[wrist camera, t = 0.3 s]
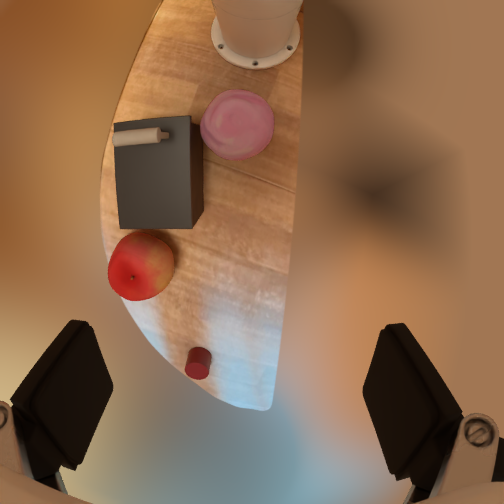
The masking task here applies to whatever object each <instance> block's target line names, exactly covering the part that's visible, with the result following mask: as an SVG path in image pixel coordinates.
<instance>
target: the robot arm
mask: <svg viewBox="0 0 504 504" xmlns="http://www.w3.org/2000/svg"><path fill="white" fill-rule="evenodd" d="M302 2H303V0H212V4H213V7H214V10H215V14H216V17H215V19H214V21H213V23H212V28H211V38H212V42H213V45H214V47H215V49H216V50H217V52H218V53H219V54H220V56H221V57H223V58H224V59H225V60H226V61H228V62H229V63H231V64H232V65H235V66H238V67H240V68H245V69H251V70H261V69H268V68H272V67H275V66H277V65H279V64H281V63H283V62H284V61H286V60H287V59H288V58H289V57H290V56H291V55H292V54H293V53H294V51H295V50H296V48H297V46H298V43H299V39H300V27H299V23H298V21H297V19H296V18H297V15H298V13H299V10H300V8H301V5H302ZM220 47H223V49H220ZM288 48H290V49H291V50H290V51H289V50H288ZM254 63H256V64H257V65H256V66H254V65H253V64H254ZM112 392H113V382H112V380H111V377H110V375H109V372H108V370H107V367H106V364H105V362H104V359H103V356H102V354H101V351H100V348H99V345H98V342H97V339H96V336H95V333H94V330H93V328H92V327H91V326H89V324H88V322H86V321H80V320H71V321H69V322H68V323H67V325H66V326H65V327H64V328H63V330H62V331H61V332H60V333H59V334H58V336H57V337H56V338H55V339H54V341H53V342H52V343H51V345H50V346H49V347H48V348H47V349H46V351H45V352H44V353H43V355H42V356H41V357H40V359H39V360H38V361H37V363H36V364H35V365H34V367H33V368H32V369H31V370H30V372H29V374H28V375H27V376H26V377H25V379H24V380H23V381H22V383H21V384H20V386H19V387H18V388H17V390H16V391H15V393H14V394H13V396H12V397H11V399H10V400H11V402H12V403H13V406H12V407H10V406H9V405H8V404H7V403H6V402H4V401H0V504H92V503H89V502H86V501H83V500H80V499H78V498H75V497H72V496H70V495H68V493H67V490H66V488H65V485H64V483H63V480H62V477H61V475H60V472H59V468H60V466H61V465H62V466H63V467H66V468H68V469H71V470H74V471H75V470H76V468H77V465H79V464H81V463H82V462H83V459H84V457H85V454H86V452H87V449H88V447H89V445H90V442H91V440H92V437H93V435H94V433H95V430H96V428H97V425H98V423H99V421H100V418H101V416H102V414H103V412H104V410H105V407H106V405H107V403H108V401H109V398H110V396H111V394H112ZM363 397H364V400H365V403H366V406H367V408H368V411H369V414H370V417H371V419H372V422H373V425H374V428H375V431H376V434H377V437H378V439H379V442H380V445H381V448H382V451H383V454H384V457H385V460H386V464H387V466H388V470H389V472H390V473H391V474H395V477H396V480H397V481H399V480H402V479H405V478H409V477H410V479H411V482H412V486H411V488H410V491H409V493H408V495H407V497H406V499H405V501H404V503H403V504H504V439H503V438H500V437H499V430H498V427H497V425H496V423H495V422H494V421H493V419H491V418H490V417H489V416H487V415H484V414H481V413H473V414H470V415H468V416H466V417H465V418H464V417H463V415H462V410H461V408H460V407H459V405H458V403H457V402H456V400H455V399H454V397H453V396H452V394H451V392H450V390H449V389H448V387H447V386H446V384H445V382H444V381H443V379H442V378H441V376H440V375H439V373H438V372H437V370H436V369H435V367H434V365H433V364H432V362H431V361H430V359H429V358H428V356H427V355H426V353H425V352H424V351H423V349H422V348H421V346H420V345H419V343H418V342H417V341H416V339H415V338H414V336H413V335H412V333H411V332H410V330H409V329H408V328H407V326H406V325H405V324H404V323H398V324H389V325H386V327H385V329H383V330H381V331H380V334H379V338H378V341H377V345H376V348H375V351H374V355H373V358H372V362H371V364H370V368H369V371H368V374H367V377H366V380H365V383H364V385H363Z"/></svg>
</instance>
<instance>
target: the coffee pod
mask: <svg viewBox="0 0 504 504" xmlns="http://www.w3.org/2000/svg"><path fill="white" fill-rule="evenodd" d="M210 363H211V354H210V352H209V351H208V350H206V349H204V348H200V347H196V348H193V349H191V350H190V351H189V354H188V358H187V362H186V366H185V372H186V374H187V375H188V376H189V377H191V378H193V379H197V380H201V379H204V378H206V377H207V376H208V375H209V369H210Z"/></svg>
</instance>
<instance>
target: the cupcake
mask: <svg viewBox="0 0 504 504" xmlns="http://www.w3.org/2000/svg"><path fill="white" fill-rule="evenodd" d="M273 131H274V115H273V112H272V110H271V108H270V106H269V105H268V103H267V102H266V101H265V100H264V99H263V98H262V97H260V96H259V95H257V94H255V93H253V92H250V91H246V90H241V89H232V90H227V91H224V92H222V93H220V94H219V95H217V96H216V97H215V98H214V100H213V101H212V102H211V103H210V104H209V106H208V107H207V109H206V111H205V113H204V115H203V117H202V119H201V124H200V133H201V136H202V139H203V140H204V142H205V144H206V145H207V146H208V148H210V149H211V150H212V151H213V152H214V153H215V154H216V155H218V156H220V157H222V158H224V159H227V160H245V159H248V158H250V157H253V156H255V155H257V154H258V153H260V152H261V151H262V150H263V149H264V148H265V147H266V146H267V145H268V143H269V142H270V140H271V138H272V135H273Z"/></svg>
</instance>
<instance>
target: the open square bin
mask: <svg viewBox="0 0 504 504" xmlns="http://www.w3.org/2000/svg"><path fill="white" fill-rule="evenodd" d="M191 165H192V206H193V227H194V225H195V224H196V222H197V221H198V219H199V217H200V216H201V214H202V213H203V211H204V201H203V139H202V136H201V133H200V125H197V124H194V123H191Z"/></svg>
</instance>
